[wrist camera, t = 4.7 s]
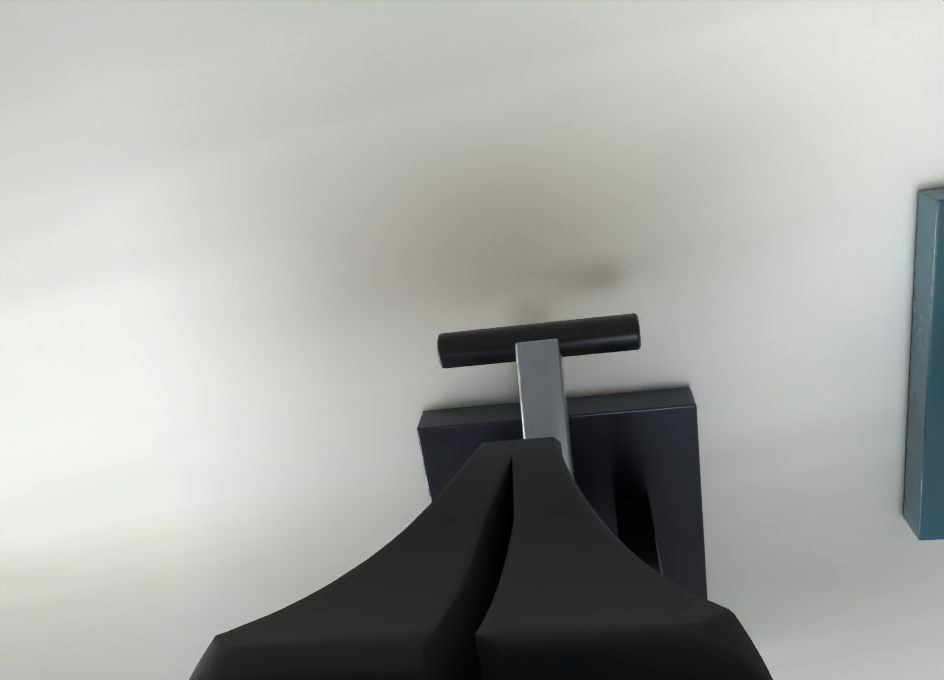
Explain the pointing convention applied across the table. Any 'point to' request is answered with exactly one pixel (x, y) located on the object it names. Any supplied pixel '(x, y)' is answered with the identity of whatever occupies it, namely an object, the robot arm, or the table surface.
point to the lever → (541, 363)
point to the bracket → (605, 468)
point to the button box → (927, 376)
